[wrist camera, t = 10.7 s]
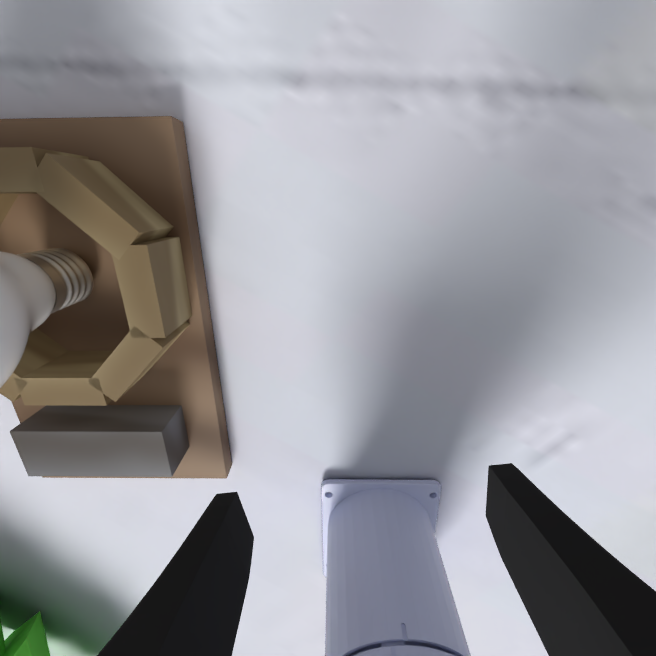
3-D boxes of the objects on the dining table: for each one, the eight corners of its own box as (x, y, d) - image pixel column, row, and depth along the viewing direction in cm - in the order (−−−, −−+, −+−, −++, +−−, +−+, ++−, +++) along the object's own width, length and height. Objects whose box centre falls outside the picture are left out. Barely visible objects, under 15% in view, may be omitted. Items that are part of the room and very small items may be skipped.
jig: (232, 464, 23) (210, 520, 19) (56, 463, 23) (-1, 518, 19) (183, 122, 15) (131, 96, 12) (-72, 126, 16) (-207, 101, 12)
